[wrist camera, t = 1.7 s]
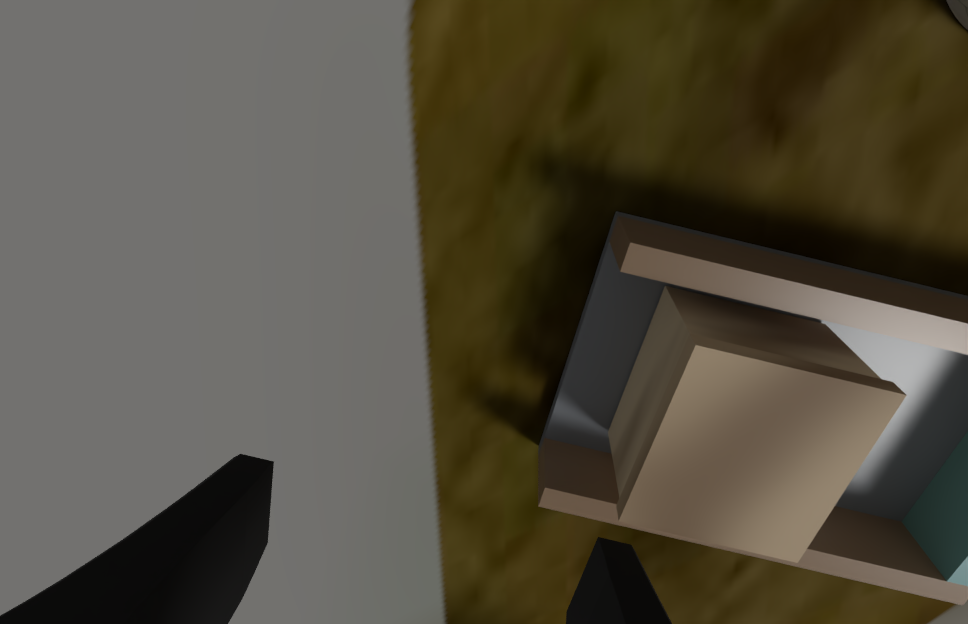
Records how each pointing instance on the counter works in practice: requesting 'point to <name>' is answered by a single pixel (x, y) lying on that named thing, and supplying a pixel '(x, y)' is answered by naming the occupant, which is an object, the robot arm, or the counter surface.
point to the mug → (960, 10)
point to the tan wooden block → (742, 425)
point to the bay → (859, 324)
